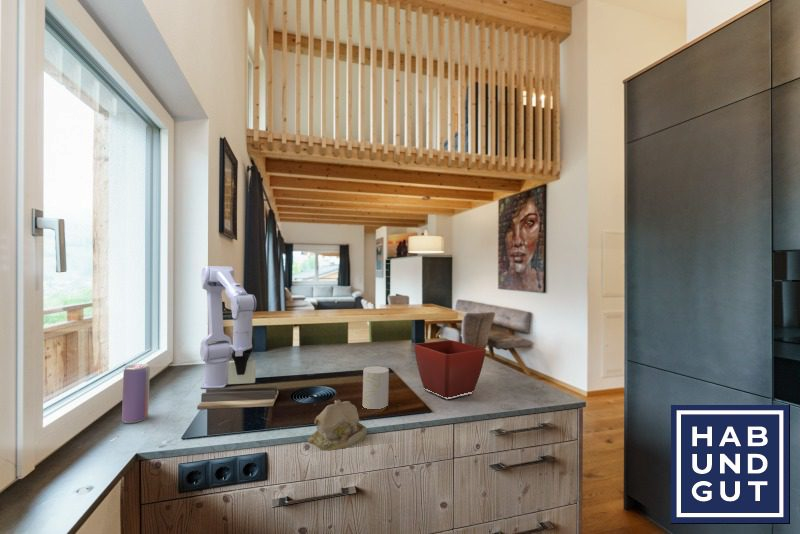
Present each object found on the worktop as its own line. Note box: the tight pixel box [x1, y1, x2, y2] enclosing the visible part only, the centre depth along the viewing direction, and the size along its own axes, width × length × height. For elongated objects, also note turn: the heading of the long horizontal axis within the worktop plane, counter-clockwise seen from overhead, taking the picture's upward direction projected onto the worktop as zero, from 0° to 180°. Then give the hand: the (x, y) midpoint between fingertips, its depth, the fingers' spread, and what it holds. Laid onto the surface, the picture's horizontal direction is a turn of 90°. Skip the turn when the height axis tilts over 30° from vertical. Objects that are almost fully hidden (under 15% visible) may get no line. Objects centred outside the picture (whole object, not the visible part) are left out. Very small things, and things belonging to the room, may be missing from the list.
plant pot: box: [413, 339, 487, 398], centre depth 130 cm, size 19×19×17 cm
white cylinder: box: [362, 365, 390, 409], centre depth 114 cm, size 8×8×12 cm
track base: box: [196, 386, 279, 410], centre depth 117 cm, size 12×22×4 cm, turn 101°
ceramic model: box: [307, 399, 368, 451], centre depth 92 cm, size 14×11×10 cm
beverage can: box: [121, 363, 151, 424], centre depth 101 cm, size 6×6×15 cm
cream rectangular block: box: [227, 359, 257, 385], centre depth 117 cm, size 2×8×7 cm, turn 106°
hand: (241, 373), depth 117 cm, fingers closed on cream rectangular block, 2 cm apart
